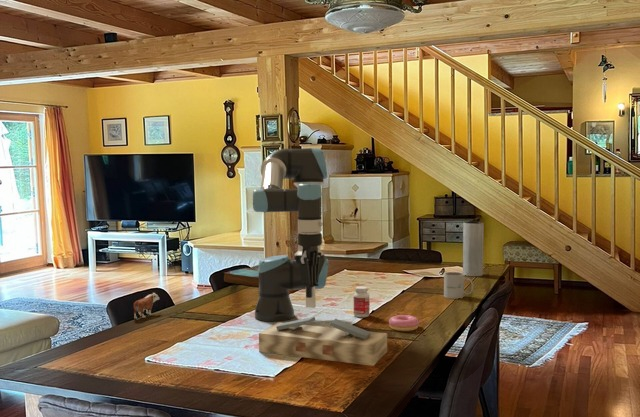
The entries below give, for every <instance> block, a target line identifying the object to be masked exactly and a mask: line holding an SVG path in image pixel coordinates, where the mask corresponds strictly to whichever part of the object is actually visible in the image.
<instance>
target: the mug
mask: <svg viewBox="0 0 640 417" xmlns="http://www.w3.org/2000/svg"><path fill="white" fill-rule="evenodd" d="M465 281H469V283H470V285H471V286H470V291H469V292H466V291H465ZM473 290H474V282H473V280H472V279H471V278H469V277H465V275H464V273H463V272H458V271H449V272H444V273H443V298H446V299H453V300H454V299H456V300H458V298H461V299H464V298H465V295H466V296H468V295H470V294H472V293H473ZM463 297H464V298H463Z"/></svg>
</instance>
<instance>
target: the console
mask: <svg viewBox="0 0 640 417" xmlns="http://www.w3.org/2000/svg"><path fill="white" fill-rule="evenodd" d="M282 323H283V322H282V321H281V322H280V321H277V322H276V323H275V324H273V325H271V326H269V327H267V328H265V329H264V330H262V331H260V332H259V333H258V352H259V353H265V354H274V355H283V356H291V357H300V358H307V359H315V360H322V361H332V362H340V363H347V364H355V365H356V364H357V365H362V366H363V365H364V366H370V367H374V366H375V365H376V364H377V363H378V362H379V361H380V360H381V359H382V358H383V357H384V356H385V355H386V354H387V353H388V333H387V332H380V331H379V332H376V331H370V332H371V333H370V336H369V337H368V338H367V339H366V340H365V339H362V338H360V337H357V336H355V335H352V334H349V335H345V333H346V332H344V331H342V330H339V329H337V328H334V327H331V326H330V327H329V326H319V325H311V324H307V325H302V326H299V327H298V328H296V329H294V330H293V329H292V327H291V328H286V329H281V330H277V328H276V327H277V326H278V325H280V324H282Z"/></svg>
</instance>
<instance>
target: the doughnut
mask: <svg viewBox="0 0 640 417" xmlns="http://www.w3.org/2000/svg"><path fill="white" fill-rule="evenodd" d="M419 320H420V319H419V318H418V317H416V316H414V315H409V314H398V315H393V316H391V317H390V318H389V319H388V326H389V327H390V329H392V330H394V331H399V332H411V331H416V330H418V328H419V325H420V321H419Z"/></svg>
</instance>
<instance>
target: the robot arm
mask: <svg viewBox="0 0 640 417" xmlns="http://www.w3.org/2000/svg"><path fill="white" fill-rule="evenodd" d="M325 156H326V155H325V152H324V150H323V149H321V148H314V147H313V148H311V147H309V148H308V147H307V148H306V147H305V148H281V149H278V150H276V151H273V152H272V153H270V154H269V155H267V156H266V157H265V158H264V160H263V161H261V166H260V174H261V176H262V177H261V182H260V188H259V189H258V188H256V189H254V190H253V191H252V209H253V211H254V212H257V213H280V212H281V213H282V212H284V213H285V212H286V213H287V212H288V213H290V212H291V213H294V212H297V246H298V248H297V251H296V252H295V253H294V255H293V256H294V258H290V257H289V255H288V254H279V255H272V256H268V257H264V258H262V259H260V261H259V262H258V269H259V271H258V273H259V287H258V299H257V303H256V306H255V310H254V318H255V320H258V321H263V322H280V321H281V322H283V321H287V320H290V319H293V318H294V317H295V309H294V306H293V303H292V300H291V298H290V290H291V291H292V290H305V308H311V309H315V308H316V302H317V301H316V290H322V289H324V288H325V286H326V284H327V278H328V270H329V259H328V258H325V253H324V252H323V251H322V250H321V246H322V245H323V234H322V233H321V232H322V229H323V228H322V226H323V225H324V224H323V222H322V221H323V220H322V218H323V217H322V199H323V198H322V196H323V192H322V186H323V185H324V180H326V179H327V178H328V170H327V164H326V163H327V162H326V158H325ZM284 180H293V185H294V186H295V187H296V188H284V186H283V185H284Z"/></svg>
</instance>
